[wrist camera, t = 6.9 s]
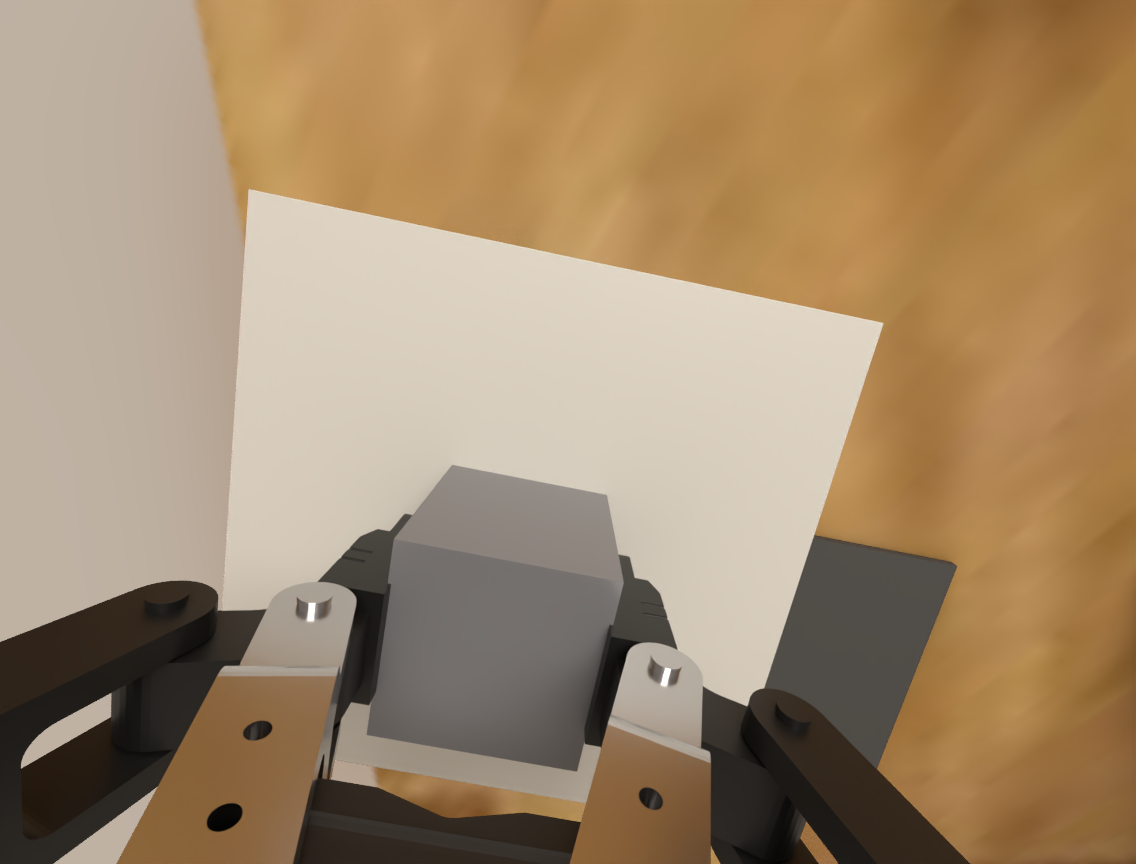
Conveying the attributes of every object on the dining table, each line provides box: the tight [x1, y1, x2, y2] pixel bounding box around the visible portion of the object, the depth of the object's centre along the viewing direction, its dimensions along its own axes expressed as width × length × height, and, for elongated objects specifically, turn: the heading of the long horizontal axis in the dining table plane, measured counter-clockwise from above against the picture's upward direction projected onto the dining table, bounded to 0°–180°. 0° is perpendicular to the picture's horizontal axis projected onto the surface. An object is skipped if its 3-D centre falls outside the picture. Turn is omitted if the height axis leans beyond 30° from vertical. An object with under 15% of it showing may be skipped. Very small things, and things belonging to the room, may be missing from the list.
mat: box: [764, 535, 957, 769], centre depth 31 cm, size 16×16×1 cm
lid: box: [222, 189, 883, 803], centre depth 12 cm, size 15×15×5 cm
